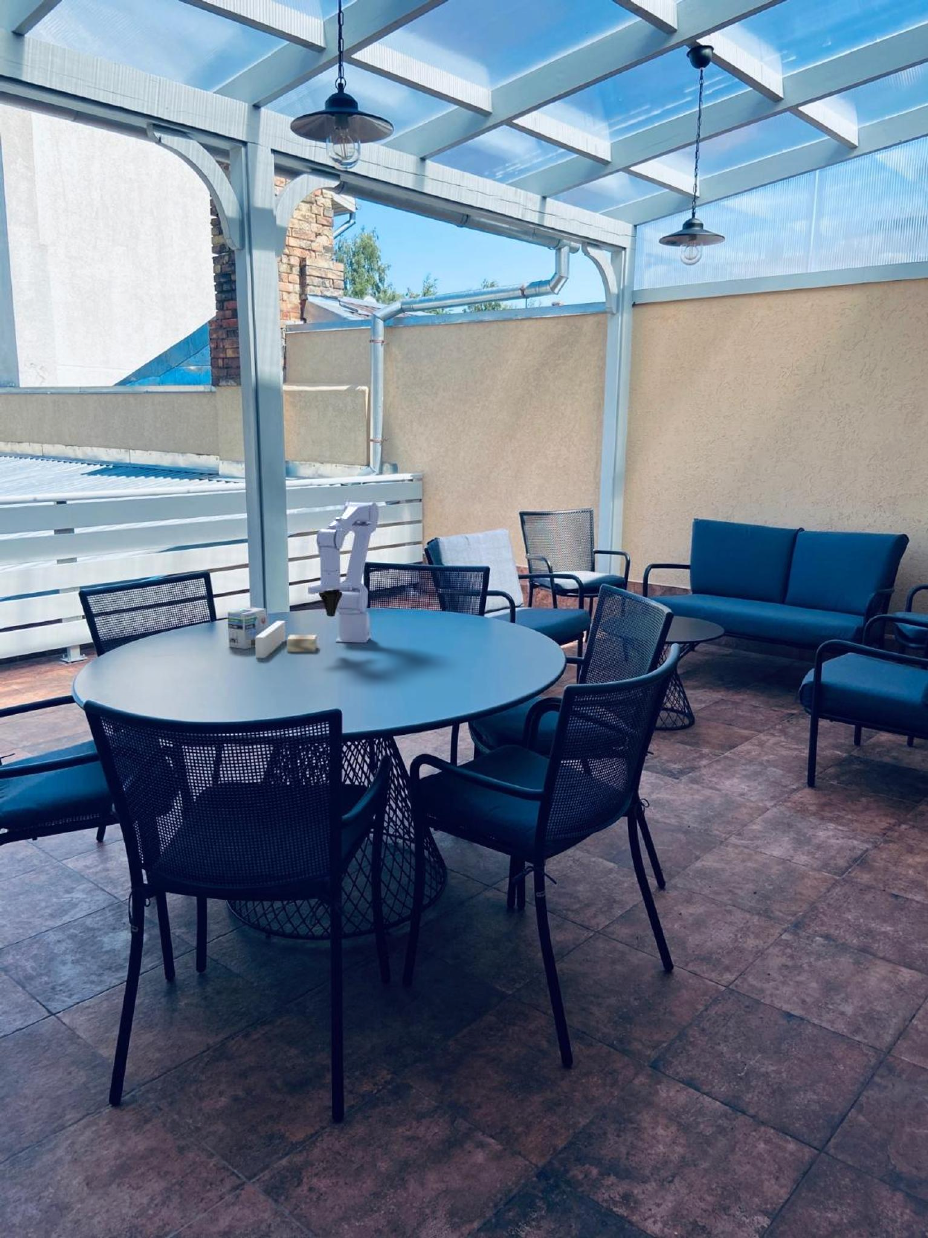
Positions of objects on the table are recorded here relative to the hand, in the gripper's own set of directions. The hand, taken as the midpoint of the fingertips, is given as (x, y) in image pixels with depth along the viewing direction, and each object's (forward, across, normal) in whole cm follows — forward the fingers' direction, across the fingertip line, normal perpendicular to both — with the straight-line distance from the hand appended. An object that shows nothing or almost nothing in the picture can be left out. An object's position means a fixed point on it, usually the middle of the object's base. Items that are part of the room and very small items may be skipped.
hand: (330, 616), depth 264 cm
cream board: (+10, +12, -14) cm, 21 cm away
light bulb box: (+11, +14, -23) cm, 29 cm away
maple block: (+11, +6, -7) cm, 14 cm away
